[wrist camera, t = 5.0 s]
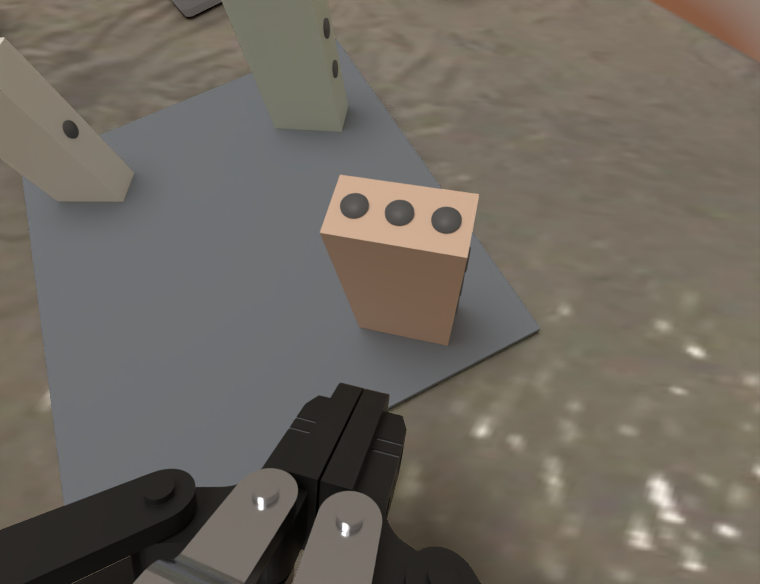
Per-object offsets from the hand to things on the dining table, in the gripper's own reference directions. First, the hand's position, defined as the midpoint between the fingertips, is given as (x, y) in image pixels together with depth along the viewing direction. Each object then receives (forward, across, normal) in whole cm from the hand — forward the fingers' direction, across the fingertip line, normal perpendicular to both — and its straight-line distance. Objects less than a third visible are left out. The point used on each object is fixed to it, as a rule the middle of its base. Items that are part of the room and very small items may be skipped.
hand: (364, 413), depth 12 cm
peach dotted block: (+11, 0, -2) cm, 11 cm away
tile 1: (+15, -24, +2) cm, 28 cm away
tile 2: (+21, -11, +8) cm, 25 cm away
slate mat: (+14, -12, 0) cm, 18 cm away
